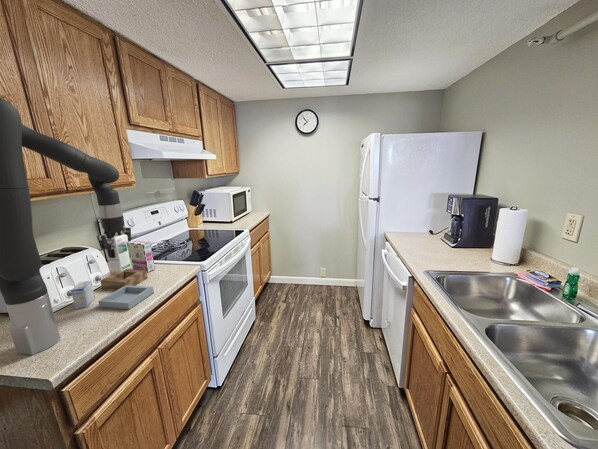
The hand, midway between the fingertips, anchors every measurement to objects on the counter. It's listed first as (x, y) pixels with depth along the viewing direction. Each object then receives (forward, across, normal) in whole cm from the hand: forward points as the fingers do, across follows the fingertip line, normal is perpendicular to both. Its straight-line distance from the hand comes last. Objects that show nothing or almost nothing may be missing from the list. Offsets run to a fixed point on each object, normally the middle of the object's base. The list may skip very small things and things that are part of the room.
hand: (119, 255), depth 105 cm
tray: (+21, 0, 0) cm, 21 cm away
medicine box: (+21, -5, +16) cm, 27 cm away
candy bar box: (+21, +30, +17) cm, 40 cm away
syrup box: (+6, 0, 0) cm, 6 cm away
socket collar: (+21, +14, +14) cm, 29 cm away
